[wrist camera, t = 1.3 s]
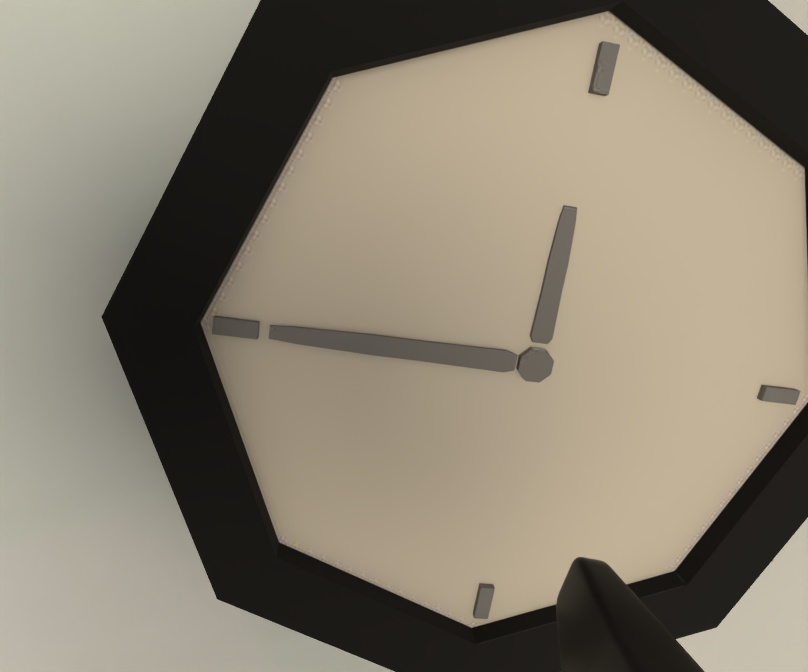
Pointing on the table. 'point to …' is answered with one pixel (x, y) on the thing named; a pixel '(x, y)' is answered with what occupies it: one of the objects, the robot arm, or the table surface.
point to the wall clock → (483, 317)
